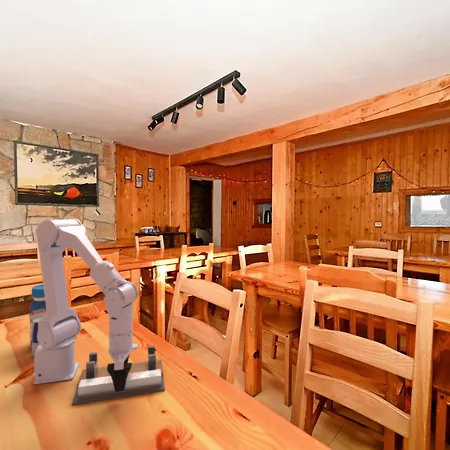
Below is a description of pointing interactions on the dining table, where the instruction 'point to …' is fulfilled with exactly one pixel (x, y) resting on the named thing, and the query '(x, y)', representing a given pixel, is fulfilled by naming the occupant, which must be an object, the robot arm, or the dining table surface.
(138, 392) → the dark grey flat panel
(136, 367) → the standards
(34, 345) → the energy drink
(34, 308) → the beverage bottle
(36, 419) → the dining table surface
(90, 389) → the rail
